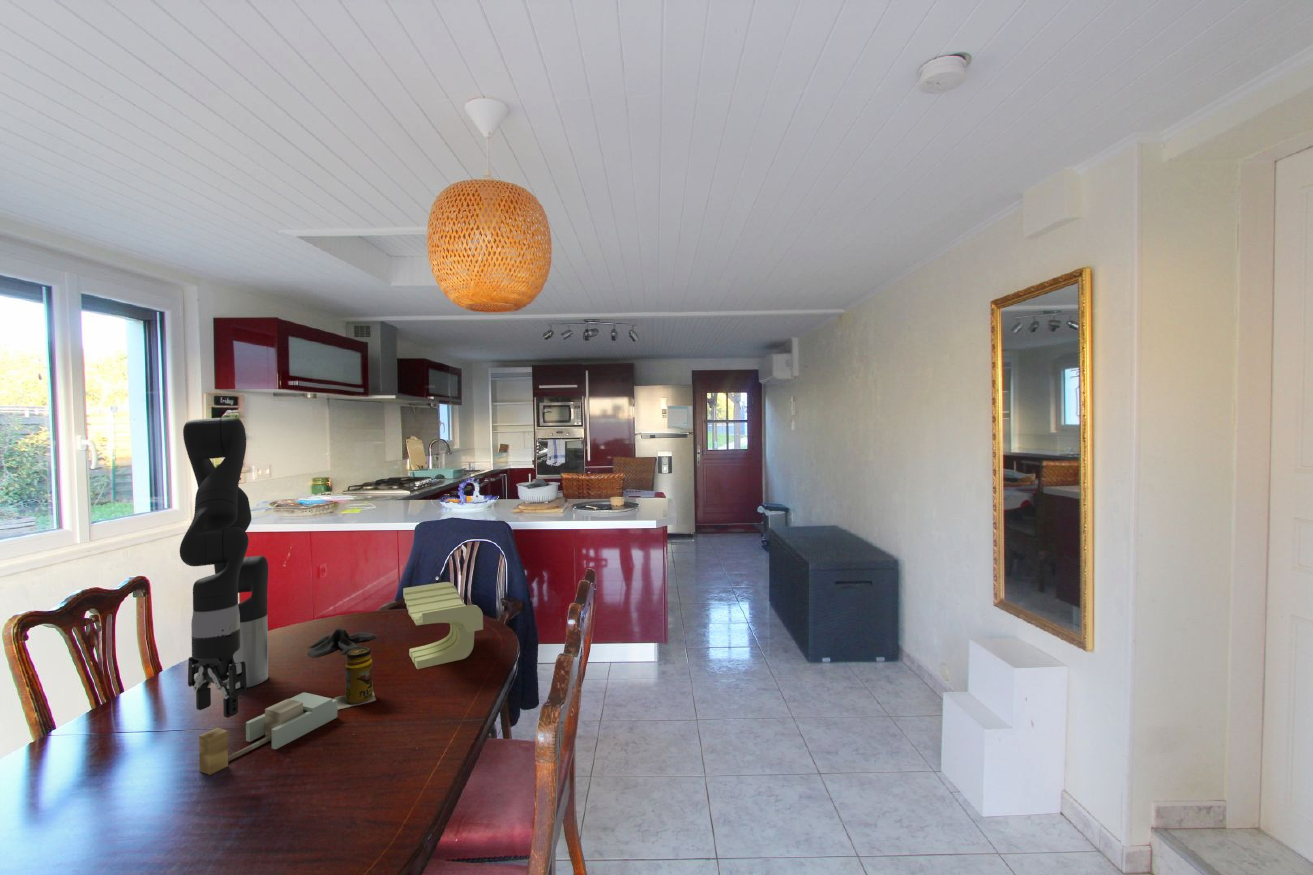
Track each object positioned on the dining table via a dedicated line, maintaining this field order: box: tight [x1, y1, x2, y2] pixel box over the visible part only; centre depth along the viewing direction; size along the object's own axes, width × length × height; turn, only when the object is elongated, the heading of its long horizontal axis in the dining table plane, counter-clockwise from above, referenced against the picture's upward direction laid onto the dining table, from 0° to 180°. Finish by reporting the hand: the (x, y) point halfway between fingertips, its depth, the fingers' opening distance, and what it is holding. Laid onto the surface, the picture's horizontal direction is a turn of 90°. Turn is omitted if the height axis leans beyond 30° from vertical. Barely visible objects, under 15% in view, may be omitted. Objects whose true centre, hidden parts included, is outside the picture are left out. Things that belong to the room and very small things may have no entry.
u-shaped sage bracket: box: [245, 691, 338, 750], centre depth 124 cm, size 9×14×5 cm, turn 158°
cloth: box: [307, 628, 379, 659], centre depth 174 cm, size 22×19×6 cm
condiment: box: [333, 646, 377, 711], centre depth 138 cm, size 7×8×12 cm
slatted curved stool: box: [403, 581, 484, 670], centre depth 165 cm, size 30×16×18 cm, turn 33°
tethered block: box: [198, 698, 303, 776], centre depth 116 cm, size 5×18×7 cm, turn 158°
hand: (217, 711), depth 110 cm, fingers open, 8 cm apart
